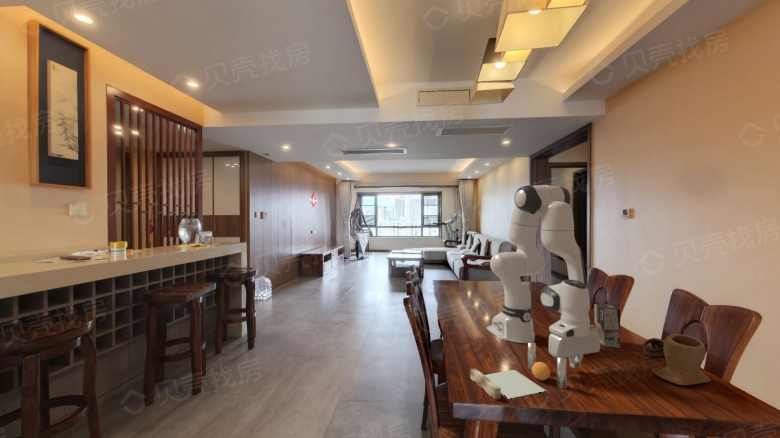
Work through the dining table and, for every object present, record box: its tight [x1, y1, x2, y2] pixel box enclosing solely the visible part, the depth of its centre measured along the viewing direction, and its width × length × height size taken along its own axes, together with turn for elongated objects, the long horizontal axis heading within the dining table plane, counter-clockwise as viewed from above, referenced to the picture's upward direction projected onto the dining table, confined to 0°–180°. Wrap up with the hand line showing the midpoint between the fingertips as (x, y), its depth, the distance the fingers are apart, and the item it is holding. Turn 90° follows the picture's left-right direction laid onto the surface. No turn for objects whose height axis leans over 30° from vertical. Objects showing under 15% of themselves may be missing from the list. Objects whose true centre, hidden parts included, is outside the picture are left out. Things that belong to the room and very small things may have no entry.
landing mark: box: [483, 369, 547, 400], centre depth 98 cm, size 14×14×1 cm
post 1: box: [527, 341, 537, 371], centre depth 109 cm, size 3×3×9 cm
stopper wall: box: [469, 368, 502, 400], centre depth 96 cm, size 13×2×3 cm, turn 18°
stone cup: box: [652, 333, 712, 386], centre depth 100 cm, size 15×12×15 cm
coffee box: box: [594, 303, 621, 349], centre depth 132 cm, size 9×6×16 cm
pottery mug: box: [642, 337, 665, 357], centre depth 119 cm, size 12×10×8 cm
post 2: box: [556, 356, 567, 390], centre depth 97 cm, size 3×3×9 cm
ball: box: [531, 361, 551, 381], centre depth 101 cm, size 6×6×6 cm
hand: (575, 366), depth 107 cm, fingers closed
